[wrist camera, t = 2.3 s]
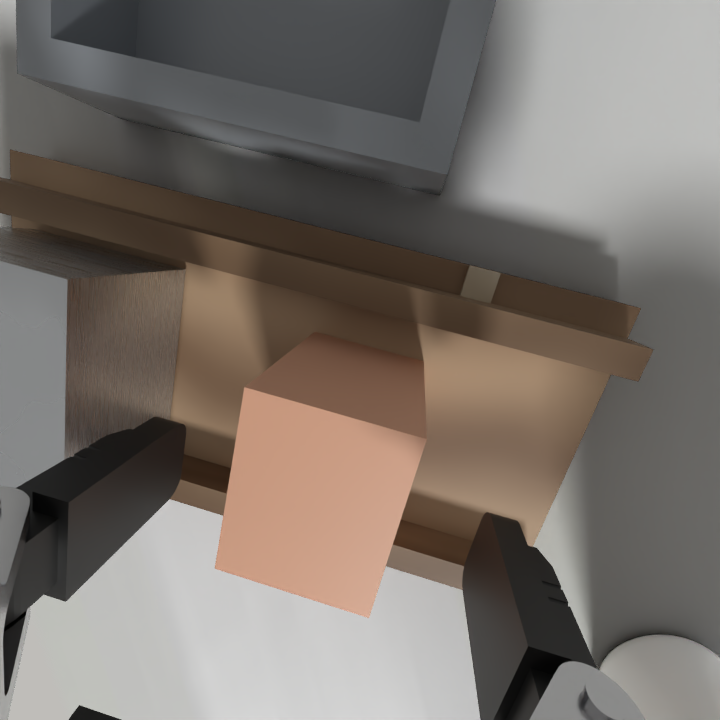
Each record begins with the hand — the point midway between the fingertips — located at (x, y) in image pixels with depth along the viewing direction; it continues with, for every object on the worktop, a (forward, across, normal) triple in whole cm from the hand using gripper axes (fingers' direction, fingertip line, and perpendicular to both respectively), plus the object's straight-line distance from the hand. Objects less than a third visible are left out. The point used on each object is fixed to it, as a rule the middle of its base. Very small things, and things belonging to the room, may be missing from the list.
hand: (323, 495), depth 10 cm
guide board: (+6, +3, 0) cm, 7 cm away
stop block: (+5, 0, 0) cm, 5 cm away
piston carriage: (+5, +10, -1) cm, 11 cm away
